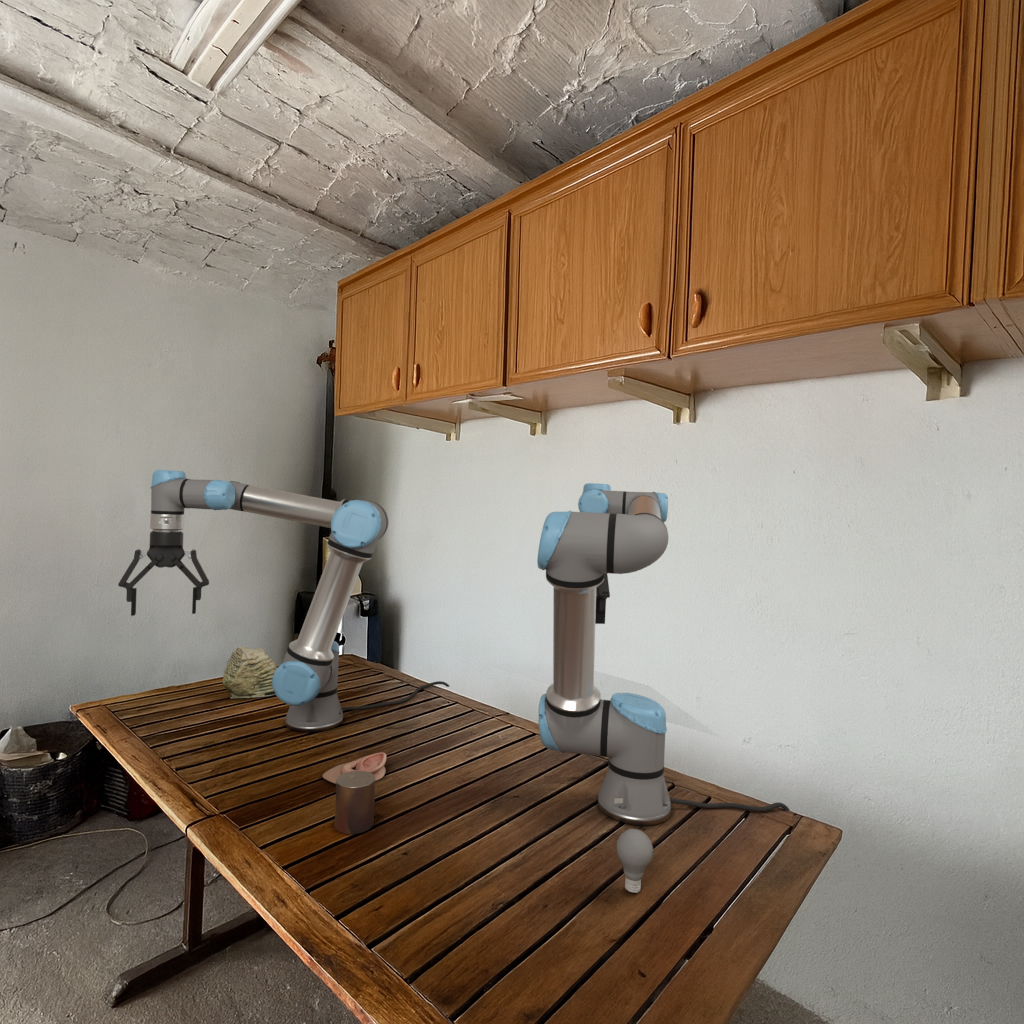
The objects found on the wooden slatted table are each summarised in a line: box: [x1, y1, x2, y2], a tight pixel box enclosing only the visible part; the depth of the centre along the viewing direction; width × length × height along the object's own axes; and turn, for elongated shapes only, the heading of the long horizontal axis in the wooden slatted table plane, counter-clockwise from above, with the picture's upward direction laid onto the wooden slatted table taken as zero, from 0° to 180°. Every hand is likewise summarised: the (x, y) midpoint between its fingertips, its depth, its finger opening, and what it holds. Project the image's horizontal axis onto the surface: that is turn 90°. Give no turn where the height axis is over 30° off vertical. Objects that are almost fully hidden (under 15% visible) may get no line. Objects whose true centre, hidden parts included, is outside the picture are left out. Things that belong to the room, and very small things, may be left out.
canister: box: [334, 771, 376, 835], centre depth 123 cm, size 7×7×9 cm
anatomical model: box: [321, 751, 387, 785], centre depth 144 cm, size 13×4×12 cm
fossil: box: [222, 646, 278, 699], centre depth 198 cm, size 9×18×15 cm, turn 132°
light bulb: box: [615, 828, 654, 894], centre depth 106 cm, size 6×6×10 cm
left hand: (164, 613), depth 162 cm, fingers open, 13 cm apart
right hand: (591, 618), depth 172 cm, fingers open, 13 cm apart
